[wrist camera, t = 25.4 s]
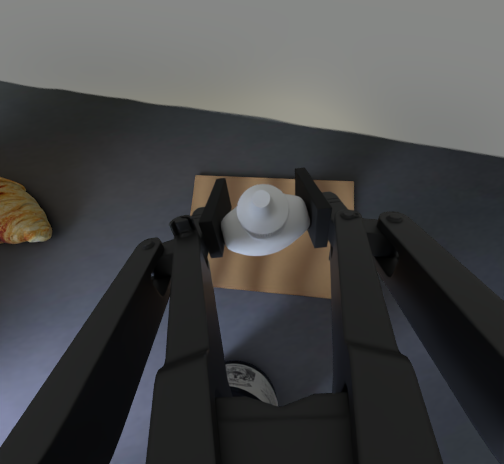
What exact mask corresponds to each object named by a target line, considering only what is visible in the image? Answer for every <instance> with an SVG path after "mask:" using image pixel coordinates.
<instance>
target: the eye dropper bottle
mask: <svg viewBox="0 0 504 464" xmlns="http://www.w3.org/2000/svg"><path fill="white" fill-rule="evenodd" d="M237 205H238V206H237V207H236V208H234V209H233V210H232V211H230V212H229V213H228V214H227V215H226V216H225V217H224V218H223V220H222V221H221V230H222V234H223V238H224V242H225V245H226V246H227V248H228V249H229V250H231V251H233V252H236V253H239V254H243V255H248V256H264V255H269V254H273V253H276V252H278V251H280V250H282V249H284V248H286V247H288V246H289V245H290V244H292V243H293V242H294V241H295V240H297V239H298V238H299V237H300V236H301V235H302V234H303V233H305V232H306V230H307V229H308V228H309V226H310V217H309V214H308V211H307V208H306V205H305V203H304V201H303V200H302V198H300V197H298V196H295V195H289V194H284V193H282V191H280V190H279V189H278V188H276V187H274V186H271V185H269V184H267V185H266V184H259V185H258V184H257V185H254V186H252V187H250V188H249V189H247V190H245V192H243V194H242V196H240V199H239V201H238V204H237Z"/></svg>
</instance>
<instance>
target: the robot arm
mask: <svg viewBox="0 0 504 464" xmlns="http://www.w3.org/2000/svg"><path fill="white" fill-rule="evenodd" d="M295 196H298V197H300V198H302V200H303V201H304V203H305V205H306V208H307V211H308V214H309V217H310V226H309V228H308V229H307V231H308V233H309V236H310V238H311V241H312V244H313V246H314V248H323V247H327V244H328V240H329V242H330V244H331V245H330V252H329V260H330V277H331V310H332V344H333V385H332V393H321V394H313V395H310V396H308V397H305V398H303V399H300V400H298V401H295V402H293V403H290V404H288V405H285V406H281V407H280V406H275V405H272V404H269V403H266V402H262V401H259V400H256V399H253V398H250V397H246V396H243V397H232V393H231V389H230V386H229V382H228V378H227V372H226V366H225V360H224V353H223V347H222V341H221V334H220V328H219V321H218V315H217V309H216V302H215V296H214V290H213V283H212V277H211V271H210V264H209V260H208V258H207V257H208V253H209V254H210V257H211V258H220V257H223V253H224V247H225V242H224V238H223V234H222V230H221V221H222V220H223V218H224V217H225V216H226V215H227V214H228V213H229V212H230V211H231V208H232V206H231V201H230V197H229V192H228V188H227V183H226V179H225V178H220V179H216V181H215V183H214V186H213V188H212V191H211V193H210V196H209V198H208V200H207V203H206V205H205V207H199V208H197V209H196V210H195V211H194V212H193V214H192V216H190V215H184V216H179V217H177V218H175V219H173V220H172V221H171V222H170V223H169V226H170V228H171V230H172V232H173V235H174V239H173V240H171V241H167V242H164V243H161V241H160V239H159V238H150V239H146V240H144V241H143V242H141V243H140V244H139V245H138V246H137V247H136V249H135V250H134V252H133V253H132V254H131V256H130V257H129V259H128V260H127V262H126V263H125V265H124V266H123V268H122V269H121V271H120V272H119V274H118V275H117V277H116V278H115V279H114V281H113V282H112V284H111V285H110V287H109V288H108V290H107V291H106V293H105V294H104V296H103V297H102V299H101V300H100V302H99V303H98V304H97V306H96V307H95V309H94V310H93V312H92V313H91V315H90V316H89V318H88V319H87V321H86V322H85V324H84V325H83V327H82V328H81V330H80V331H79V332H78V334H77V335H76V337H75V338H74V340H73V341H72V343H71V344H70V346H69V347H68V349H67V350H66V352H65V353H64V355H63V356H62V357H61V359H60V360H59V362H58V363H57V365H56V366H55V368H54V369H53V371H52V372H51V374H50V375H49V377H48V378H47V380H46V381H45V382H44V384H43V385H42V387H41V388H40V390H39V391H38V393H37V394H36V396H35V397H34V399H33V400H32V402H31V403H30V405H29V406H28V408H27V409H26V410H25V412H24V413H23V415H22V416H21V418H20V419H19V421H18V422H17V424H16V425H15V427H14V428H13V430H12V431H11V433H10V434H9V435H8V437H7V438H6V440H5V441H4V443H3V444H2V446H1V447H0V464H109V463H110V461H111V459H112V457H113V454H114V451H115V449H116V446H117V444H118V441H119V439H120V436H121V433H122V431H123V428H124V425H125V422H126V419H127V416H128V413H129V411H130V408H131V405H132V402H133V399H134V396H135V394H136V391H137V388H138V385H139V382H140V379H141V376H142V374H143V371H144V368H145V365H146V362H147V359H148V357H149V354H150V351H151V348H152V345H153V342H154V339H155V337H156V334H157V331H158V328H159V325H160V322H161V319H162V317H163V314H164V311H165V308H166V305H167V302H168V300H169V297H170V304H169V318H168V331H167V345H166V359H165V364H164V366H163V367H162V368H160V369H159V370H158V372H157V374H156V378H155V383H154V391H153V401H152V410H151V419H150V429H149V438H148V448H147V457H146V464H443V461H442V458H441V455H440V452H439V448H438V445H437V442H436V439H435V435H434V432H433V429H432V426H431V423H430V419H429V416H428V413H427V410H426V406H425V403H424V400H423V397H422V393H421V390H420V387H419V384H418V380H417V377H416V374H415V371H414V369H413V366H412V364H411V362H410V361H409V359H408V358H407V357H406V356H404V355H403V354H401V353H400V351H399V350H398V347H397V344H396V340H395V336H394V333H393V329H392V325H391V322H390V318H389V314H388V311H387V307H386V303H385V300H384V296H383V292H382V289H381V285H380V281H379V278H378V274H377V272H378V273H379V275H380V276H381V278H382V280H383V281H384V283H385V284H386V286H387V288H388V289H389V291H390V292H391V294H392V296H393V297H394V299H395V300H396V302H397V304H398V305H399V307H400V308H401V310H402V312H403V313H404V315H405V316H406V318H407V320H408V321H409V323H410V324H411V326H412V328H413V329H414V331H415V333H416V334H417V336H418V337H419V339H420V341H421V342H422V344H423V345H424V347H425V349H426V350H427V352H428V353H429V355H430V357H431V358H432V360H433V361H434V363H435V365H436V366H437V368H438V369H439V371H440V373H441V374H442V376H443V377H444V379H445V381H446V382H447V384H448V385H449V387H450V389H451V390H452V392H453V393H454V395H455V397H456V398H457V400H458V402H459V403H460V405H461V406H462V408H463V410H464V411H465V413H466V414H467V416H468V418H469V419H470V421H471V422H472V424H473V426H474V427H475V428H476V430H477V431H478V433H479V434H480V436H481V437H482V439H483V440H484V442H485V443H486V445H487V446H488V448H489V449H490V451H491V452H492V454H493V455H494V456H495V458H496V459H497V460H498V462H499V463H500V464H504V301H503V300H502V299H501V298H500V297H498V296H497V295H496V294H495V293H494V292H493V291H492V290H491V289H489V288H488V287H487V286H486V285H485V284H484V283H483V282H481V281H480V280H479V279H478V278H477V277H476V276H475V275H474V274H472V273H471V272H470V271H469V270H468V269H467V268H466V267H464V266H463V265H462V264H461V263H460V262H459V261H458V260H457V259H455V258H454V257H453V256H452V255H451V254H450V253H449V252H447V251H446V250H445V249H444V248H443V247H442V246H441V245H440V244H438V243H437V242H436V241H435V240H434V239H433V238H432V237H430V236H429V235H428V234H427V233H426V232H425V231H424V230H423V229H421V228H420V227H419V226H418V225H417V224H416V223H415V222H413V221H412V220H411V219H410V218H409V217H407V216H406V215H404V214H401V213H399V212H384V213H382V214H380V216H379V219H378V220H375V219H364V218H362V216H361V214H360V213H358V212H356V211H353V210H348V209H347V207H346V206H345V205H344V204H343V202H341V200H340V199H339V197H338V196H337V195H336V194H334V193H332V192H330V191H329V192H321V191H320V189H319V188H318V186H317V185H316V183H315V182H314V180H313V179H312V178H311V176H310V175H309V173H308V172H307V170H306V169H305V168H297V169H295ZM151 275H152V277H151Z"/></svg>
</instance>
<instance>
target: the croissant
mask: <svg viewBox="0 0 504 464" xmlns="http://www.w3.org/2000/svg"><path fill="white" fill-rule="evenodd" d="M25 191H26V189H25V187H24V186H23V185H21V184H19V183H17V182H14V181H12V180H8V179H5V178H2V177H0V244H1V243H9V244H18V243H21V242H25V241H28V242H39V241H41V242H43V241H47V240H48V239H50V238H51V235H52V228H51V225H50V224H49V222H48V220H47V216H46V214H45V212H44V211H43V209H41V208H40V206H39V205H38V203H37V202H36V200H35V199H34V198H33V197H32V196H30V195H29V194H28V193H27V192H25Z"/></svg>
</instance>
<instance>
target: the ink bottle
mask: <svg viewBox="0 0 504 464" xmlns="http://www.w3.org/2000/svg"><path fill="white" fill-rule="evenodd" d="M225 366H226V372H227V378H228V382H229V386H230V389H231V393H232V397H243V396H246V397H250V398H253V399H256V400H259V401H262V402H266V403H269V404H272V405H275V406H278V402H277V397H276V393H275V390H274V387H273V385H272V383H271V381H270V380H269V378H268V377H267V376H266V374H265V373H264V372H263V371H261V370H260V369H259V368H257V367H256V366H254V365H252V364H250V363H247V362H244V361H236V360H234V361H226V362H225Z"/></svg>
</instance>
